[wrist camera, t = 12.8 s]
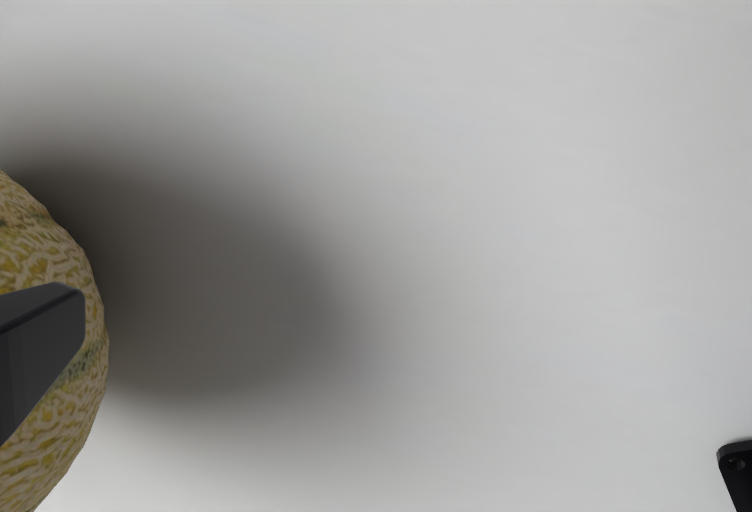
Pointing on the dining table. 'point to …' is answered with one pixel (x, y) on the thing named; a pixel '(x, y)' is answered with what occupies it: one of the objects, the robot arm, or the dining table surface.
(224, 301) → the dining table surface
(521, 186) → the dining table surface
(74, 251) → the cantaloupe
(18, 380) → the robot arm
